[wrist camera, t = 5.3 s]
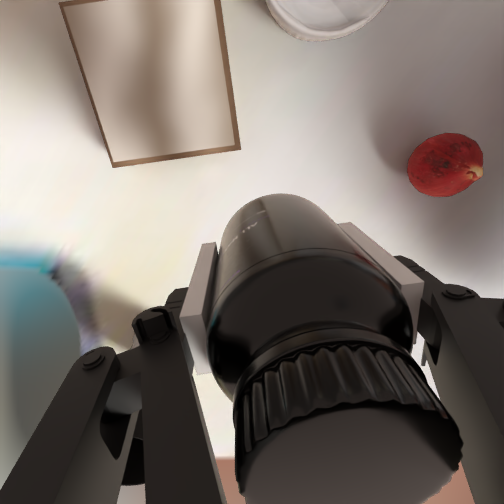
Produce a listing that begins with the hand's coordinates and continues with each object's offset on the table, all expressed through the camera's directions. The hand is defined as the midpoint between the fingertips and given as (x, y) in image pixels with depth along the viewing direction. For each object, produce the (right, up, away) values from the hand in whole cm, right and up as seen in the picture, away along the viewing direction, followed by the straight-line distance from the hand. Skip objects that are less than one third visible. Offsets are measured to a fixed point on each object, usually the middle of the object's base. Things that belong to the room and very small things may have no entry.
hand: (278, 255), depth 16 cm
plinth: (-9, +16, +10) cm, 21 cm away
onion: (+17, +10, +14) cm, 24 cm away
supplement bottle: (0, 0, +1) cm, 1 cm away
